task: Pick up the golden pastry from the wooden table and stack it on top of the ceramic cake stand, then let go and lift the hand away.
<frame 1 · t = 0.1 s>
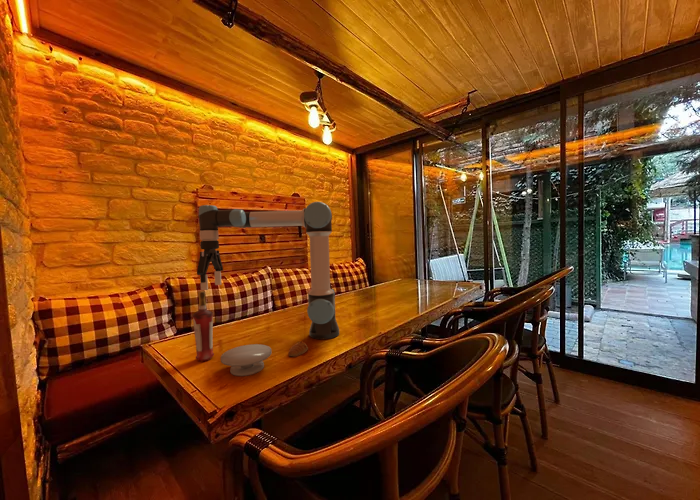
hand: (211, 287, 130), 28 cm above the table, tool pointing down, fingers open, 13 cm apart
ketchup bottle: (205, 359, 119), on the table
cake stand: (247, 368, 109), on the table
pastry: (298, 353, 123), on the table
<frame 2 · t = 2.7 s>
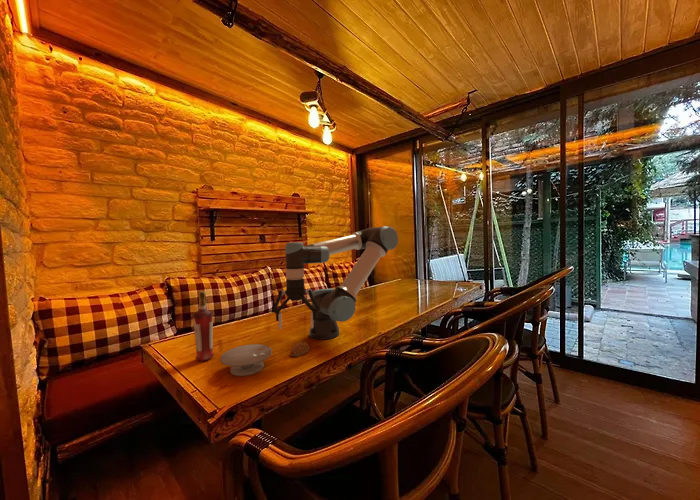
hand: (296, 328, 123), 11 cm above the table, tool pointing down, fingers open, 13 cm apart
nothing on the table moved.
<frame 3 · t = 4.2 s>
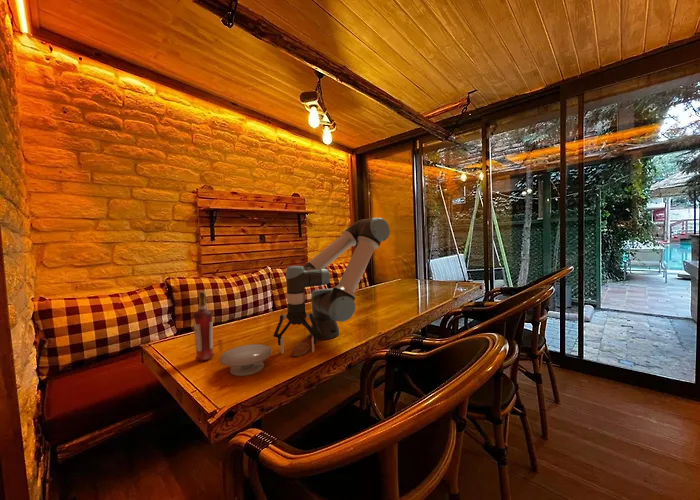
hand: (297, 352, 123), 0 cm above the table, tool pointing down, fingers open, 12 cm apart
nothing on the table moved.
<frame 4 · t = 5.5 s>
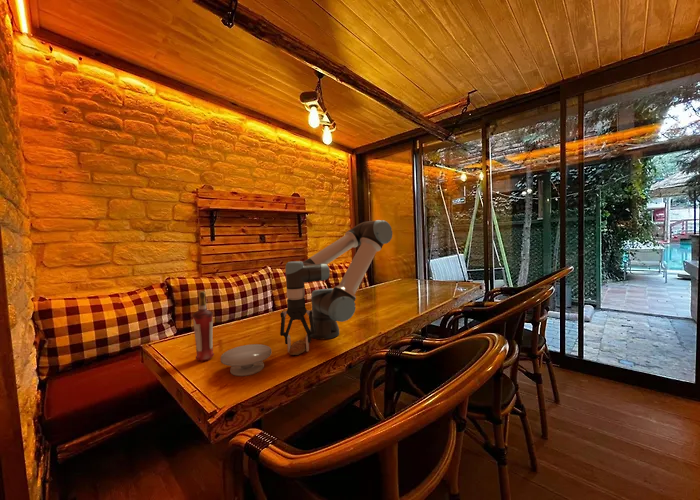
hand: (298, 350, 124), 1 cm above the table, tool pointing down, fingers closed on pastry, 7 cm apart
pastry: (298, 351, 124), on the table, touching gripper
everything else where it was.
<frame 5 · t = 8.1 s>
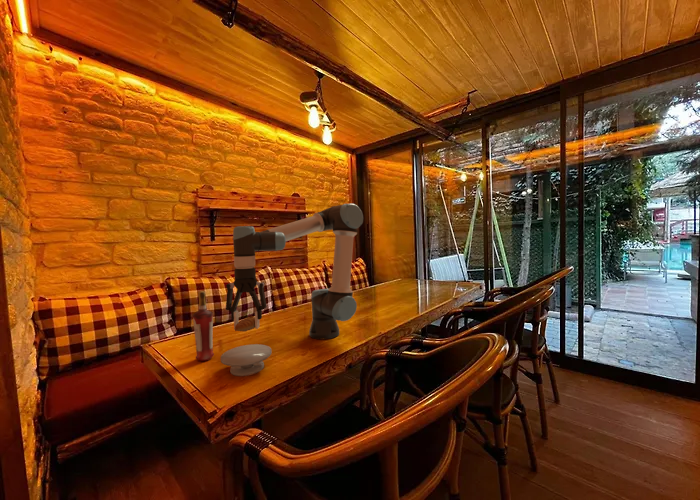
hand: (247, 327, 109), 15 cm above the table, tool pointing down, fingers closed on pastry, 7 cm apart
pastry: (246, 329, 109), point 15 cm above the table, touching gripper
everything else where it was.
when the fingers open (7 cm above the table, at t = 10.5 s): pastry stays where it is, resting on cake stand.
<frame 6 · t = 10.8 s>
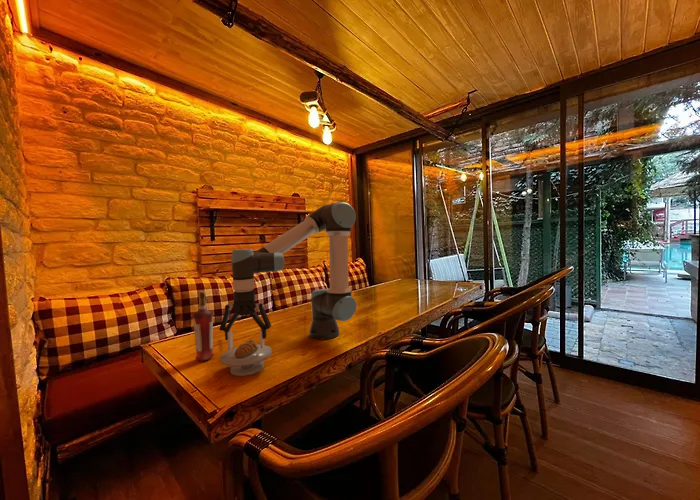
hand: (246, 347, 109), 8 cm above the table, tool pointing down, fingers open, 11 cm apart
pastry: (246, 353, 109), point 6 cm above the table, touching cake stand
everything else where it was.
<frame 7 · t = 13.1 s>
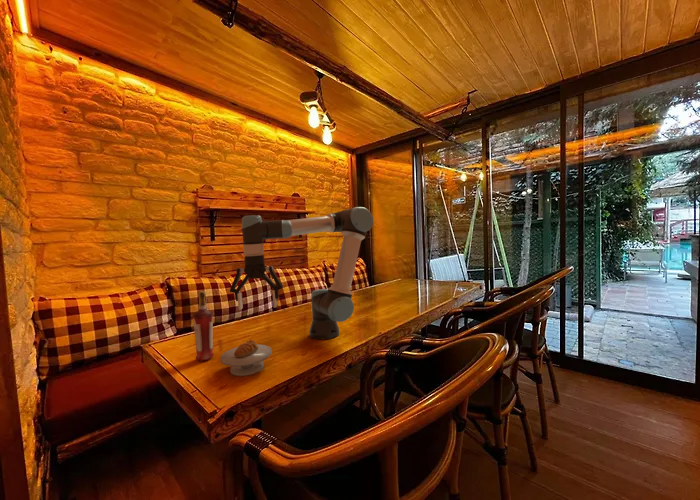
hand: (258, 308, 115), 21 cm above the table, tool pointing down, fingers open, 13 cm apart
nothing on the table moved.
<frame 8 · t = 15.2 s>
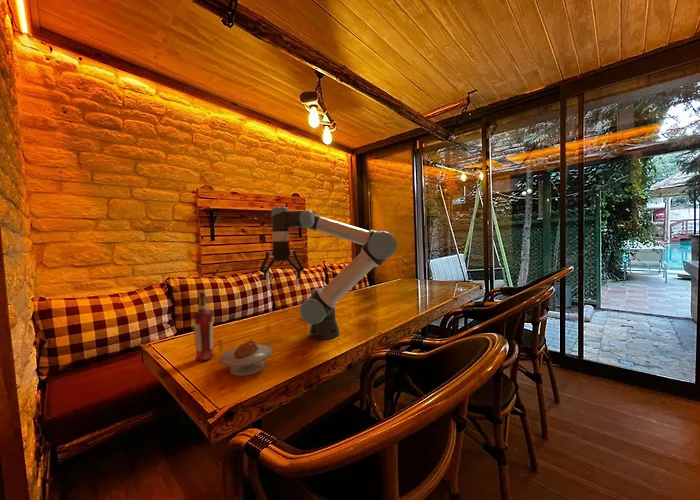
hand: (282, 286, 134), 27 cm above the table, tool pointing down, fingers open, 13 cm apart
nothing on the table moved.
at the end: pastry inside the target area on the cake stand (0.2 cm from its centre), point 5.8 cm above the cake stand's base; pastry tilted 0°; the gripper is holding nothing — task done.
